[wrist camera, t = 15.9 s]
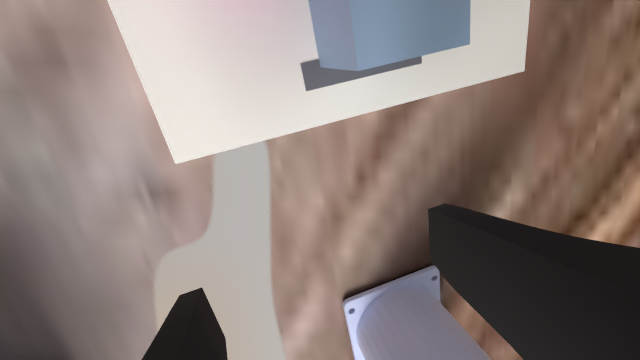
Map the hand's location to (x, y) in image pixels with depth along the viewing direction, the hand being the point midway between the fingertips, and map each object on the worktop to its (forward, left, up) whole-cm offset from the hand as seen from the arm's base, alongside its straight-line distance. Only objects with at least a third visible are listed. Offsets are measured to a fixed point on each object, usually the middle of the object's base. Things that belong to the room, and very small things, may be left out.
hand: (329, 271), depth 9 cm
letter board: (+8, -6, -9) cm, 13 cm away
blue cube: (+8, -6, -9) cm, 13 cm away
